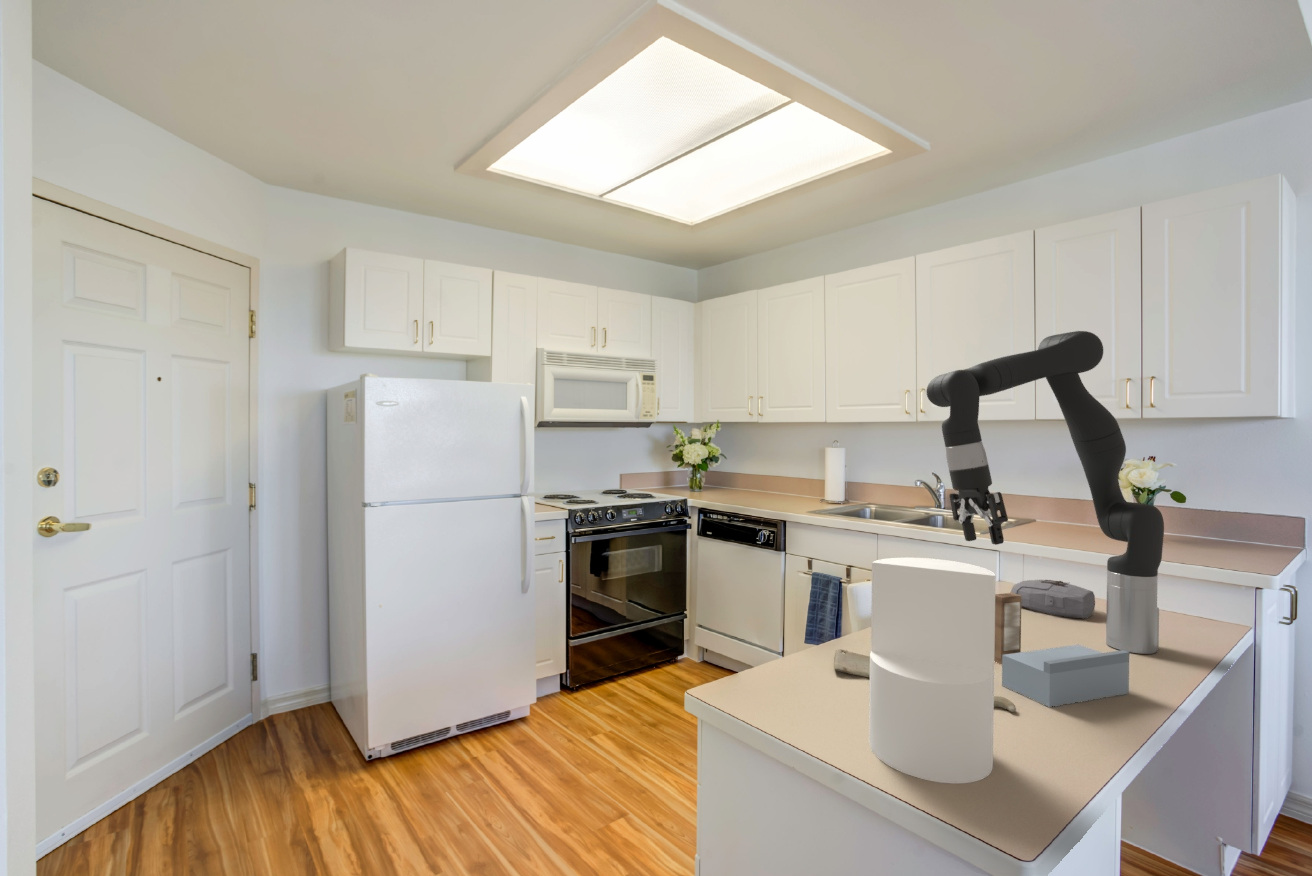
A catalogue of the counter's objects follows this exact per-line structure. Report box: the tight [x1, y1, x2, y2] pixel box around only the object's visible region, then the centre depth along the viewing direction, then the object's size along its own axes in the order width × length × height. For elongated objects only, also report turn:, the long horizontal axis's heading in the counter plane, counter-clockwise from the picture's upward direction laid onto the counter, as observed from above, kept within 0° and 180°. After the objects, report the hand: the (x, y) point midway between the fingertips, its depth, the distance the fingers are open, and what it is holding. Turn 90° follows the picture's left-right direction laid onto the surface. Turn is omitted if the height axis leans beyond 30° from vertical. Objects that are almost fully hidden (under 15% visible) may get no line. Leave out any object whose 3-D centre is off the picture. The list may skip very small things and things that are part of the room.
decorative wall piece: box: [833, 648, 1017, 713], centre depth 126 cm, size 30×3×30 cm
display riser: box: [1001, 644, 1130, 708], centre depth 119 cm, size 20×10×8 cm, turn 109°
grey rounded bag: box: [1009, 579, 1096, 619], centre depth 174 cm, size 15×8×20 cm
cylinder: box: [868, 557, 996, 784], centre depth 95 cm, size 17×17×28 cm
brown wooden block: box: [994, 592, 1022, 665], centre depth 134 cm, size 6×6×14 cm
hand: (984, 542), depth 130 cm, fingers open, 8 cm apart
